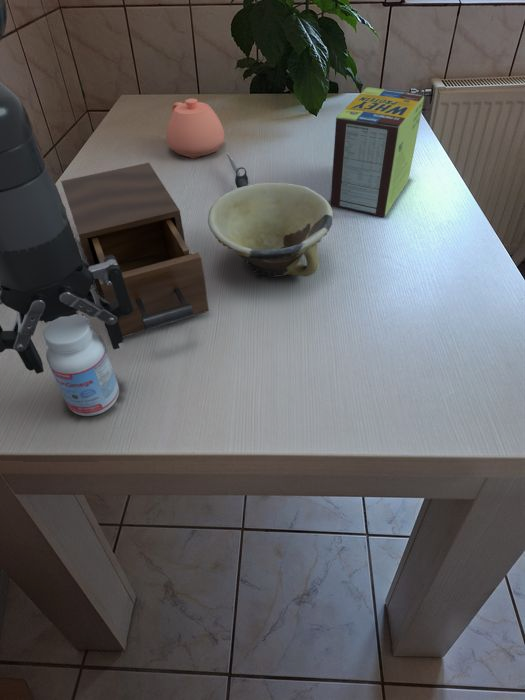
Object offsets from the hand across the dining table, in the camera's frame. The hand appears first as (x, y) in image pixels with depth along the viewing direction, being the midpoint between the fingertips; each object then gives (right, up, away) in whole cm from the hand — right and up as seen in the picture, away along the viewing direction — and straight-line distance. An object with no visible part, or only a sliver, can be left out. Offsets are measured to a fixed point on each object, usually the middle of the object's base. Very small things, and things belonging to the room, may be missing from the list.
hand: (77, 355), depth 54 cm
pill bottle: (0, -5, +5) cm, 7 cm away
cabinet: (-1, +16, +26) cm, 30 cm away
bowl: (+22, +14, +23) cm, 34 cm away
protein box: (+40, +30, +38) cm, 63 cm away
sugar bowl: (+5, +45, +54) cm, 71 cm away
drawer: (+5, +7, +16) cm, 18 cm away
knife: (+16, +32, +41) cm, 54 cm away
